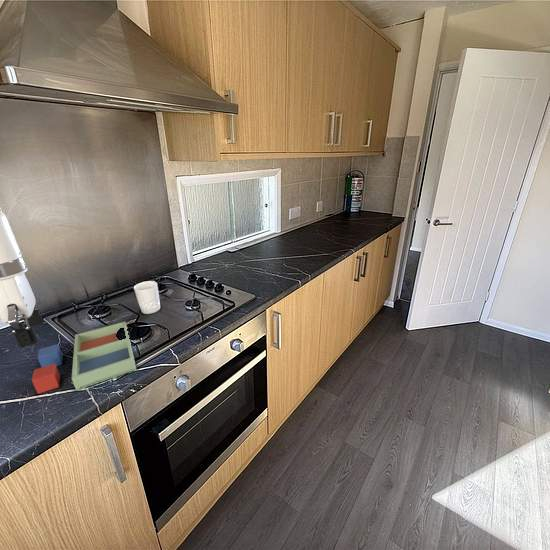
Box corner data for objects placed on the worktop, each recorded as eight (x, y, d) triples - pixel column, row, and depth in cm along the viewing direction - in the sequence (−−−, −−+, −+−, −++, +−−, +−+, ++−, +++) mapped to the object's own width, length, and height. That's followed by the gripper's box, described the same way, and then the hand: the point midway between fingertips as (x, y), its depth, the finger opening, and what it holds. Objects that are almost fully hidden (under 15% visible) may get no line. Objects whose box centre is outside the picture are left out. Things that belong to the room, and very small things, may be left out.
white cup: (161, 302, 114) (156, 279, 111) (162, 312, 108) (157, 287, 104) (140, 306, 112) (134, 283, 108) (139, 316, 105) (133, 291, 101)
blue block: (42, 370, 80) (37, 357, 79) (44, 361, 84) (39, 348, 82) (62, 364, 82) (57, 351, 81) (63, 356, 86) (58, 343, 84)
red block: (37, 394, 72) (31, 380, 71) (40, 383, 76) (34, 369, 74) (59, 387, 74) (53, 373, 73) (60, 376, 78) (55, 363, 76)
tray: (76, 390, 73) (71, 378, 71) (78, 345, 91) (75, 334, 89) (136, 369, 79) (133, 358, 78) (127, 331, 97) (125, 321, 95)
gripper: (-9, 260, 68) (19, 322, 75) (-33, 286, 55) (4, 360, 61) (31, 253, 72) (54, 314, 79) (17, 277, 58) (48, 347, 65)
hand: (32, 334), depth 70 cm, fingers open, 9 cm apart
